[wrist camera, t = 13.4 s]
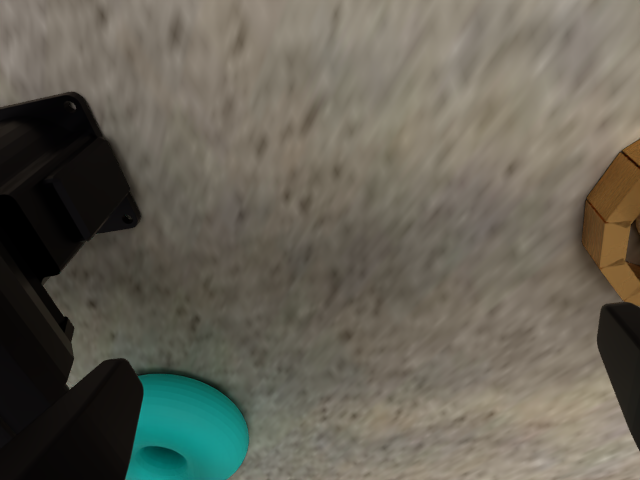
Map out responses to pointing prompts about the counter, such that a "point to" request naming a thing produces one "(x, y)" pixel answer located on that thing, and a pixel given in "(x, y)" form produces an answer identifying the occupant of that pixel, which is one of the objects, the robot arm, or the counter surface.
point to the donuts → (186, 432)
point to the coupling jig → (615, 222)
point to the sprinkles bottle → (638, 223)
